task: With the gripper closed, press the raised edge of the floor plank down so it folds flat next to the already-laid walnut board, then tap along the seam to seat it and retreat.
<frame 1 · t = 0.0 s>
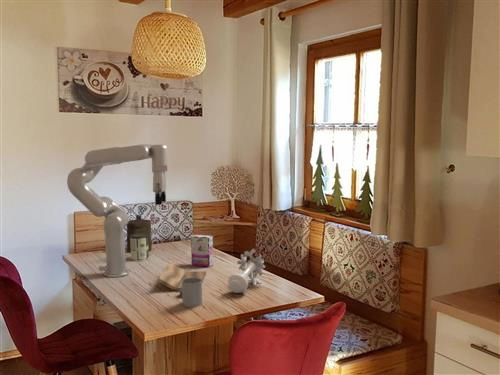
hand: (160, 203, 262), 37 cm above the table, tool pointing down, fingers open, 9 cm apart
candy bar box: (202, 265, 283), on the table
coffee can: (139, 259, 299), on the table
laid board: (181, 282, 251), on the table
flower vase: (246, 287, 242), on the table
plank: (172, 275, 251), point 3 cm above the table, hinge at 30.0°
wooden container: (139, 250, 321), on the table
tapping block: (189, 295, 231), on the table
cup: (192, 303, 220), on the table
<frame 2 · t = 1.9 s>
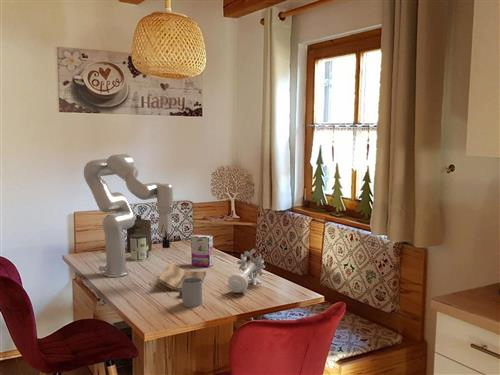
hand: (166, 247, 250), 17 cm above the table, tool pointing down, fingers closed
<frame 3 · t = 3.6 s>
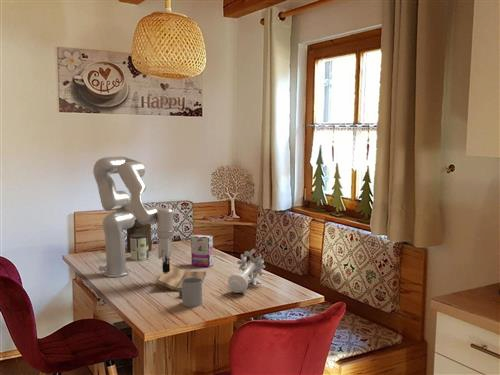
hand: (166, 271, 251), 5 cm above the table, tool pointing down, fingers closed
plank: (172, 276, 251), point 3 cm above the table, hinge at 25.0°, touching gripper
everything else where it was.
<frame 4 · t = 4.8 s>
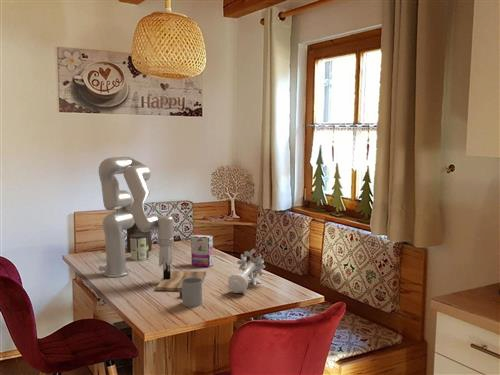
hand: (167, 278, 251), 2 cm above the table, tool pointing down, fingers closed
plank: (171, 280, 252), point 1 cm above the table, hinge at 2.4°, touching gripper
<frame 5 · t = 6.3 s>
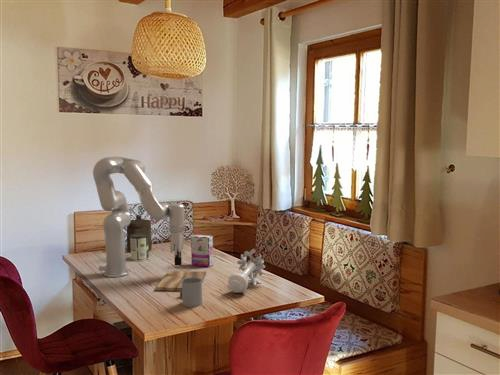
hand: (178, 264, 260), 6 cm above the table, tool pointing down, fingers closed
plank: (171, 280, 252), point 1 cm above the table, hinge at 2.3°
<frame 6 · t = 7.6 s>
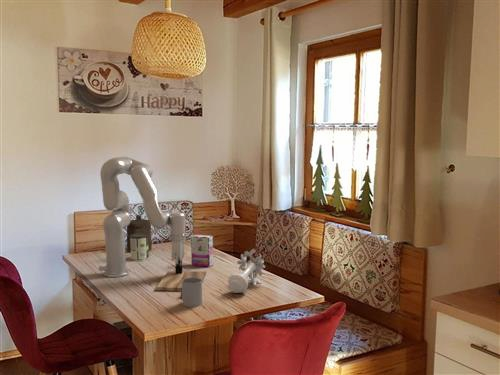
hand: (179, 273, 261), 2 cm above the table, tool pointing down, fingers closed
plank: (171, 280, 252), point 1 cm above the table, hinge at 2.3°, touching gripper
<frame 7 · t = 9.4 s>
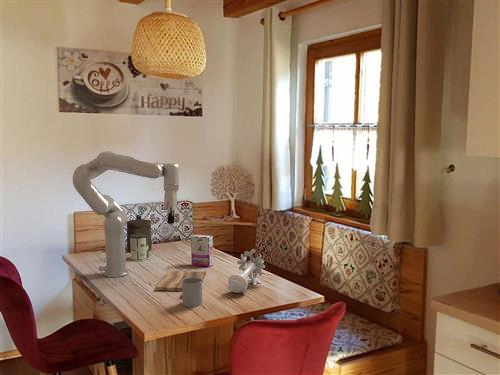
hand: (170, 223, 265), 26 cm above the table, tool pointing down, fingers closed
plank: (171, 280, 252), point 1 cm above the table, hinge at 2.3°
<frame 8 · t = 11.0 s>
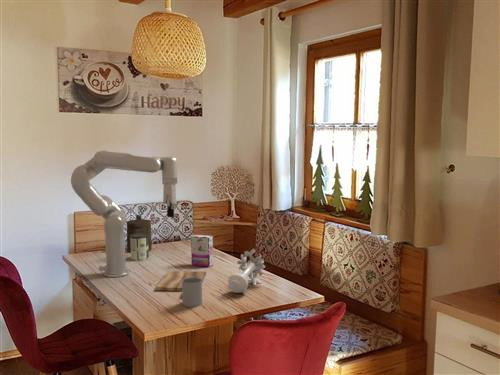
hand: (170, 216, 267), 29 cm above the table, tool pointing down, fingers closed
at the end: plank at +2° (first picture: +30°); plank touching nothing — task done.
